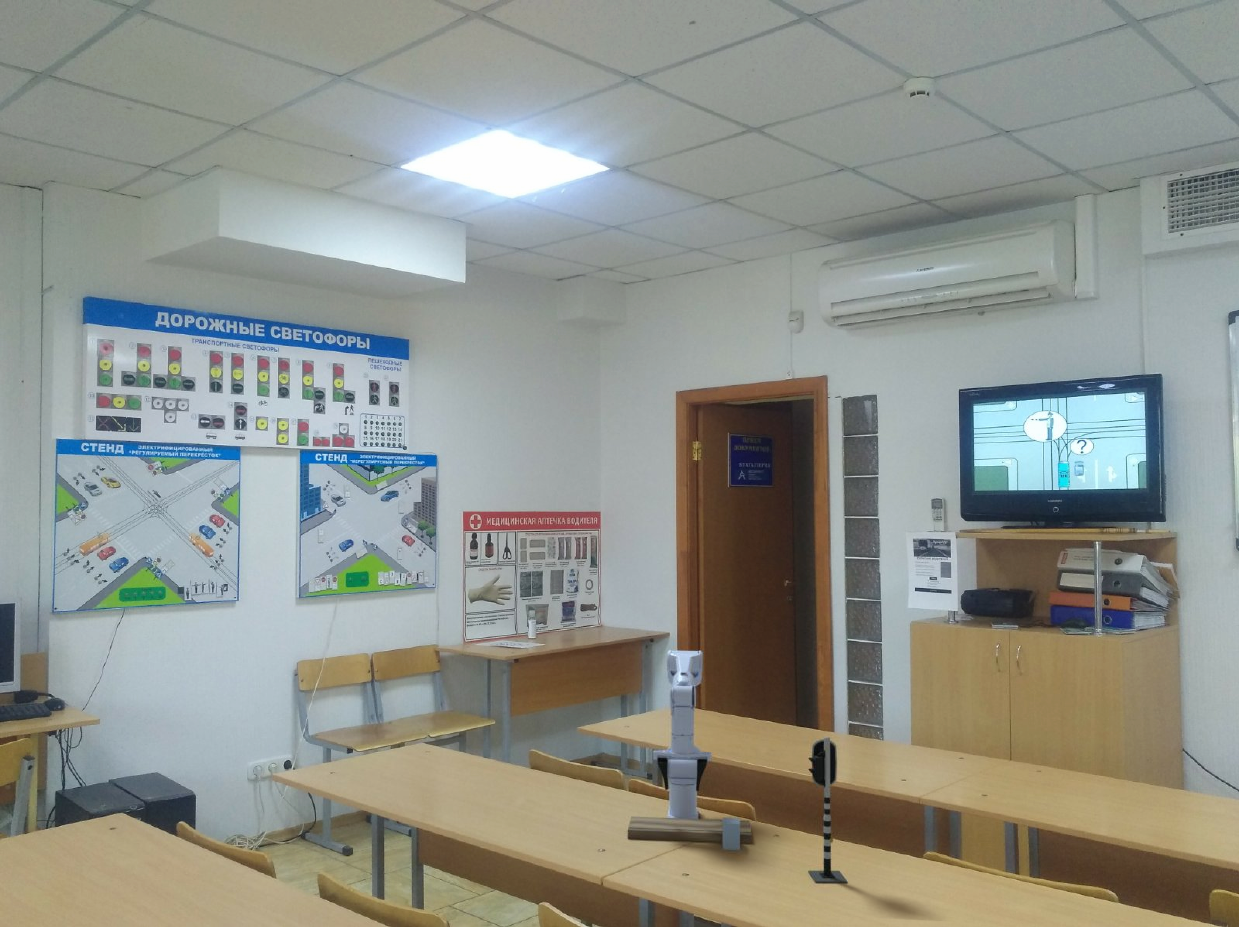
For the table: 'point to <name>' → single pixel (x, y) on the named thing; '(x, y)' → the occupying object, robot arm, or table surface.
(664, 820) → the board
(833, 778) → the miniature traffic light
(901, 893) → the table surface
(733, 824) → the light blue block
